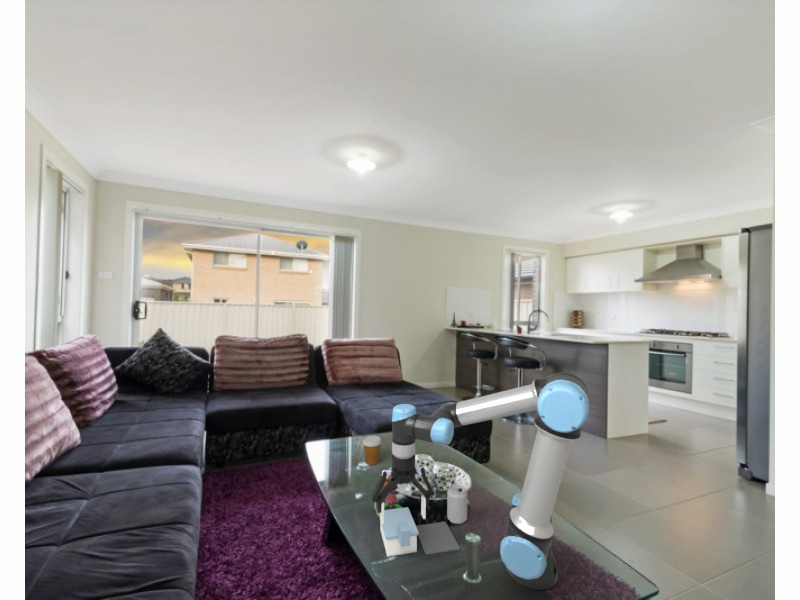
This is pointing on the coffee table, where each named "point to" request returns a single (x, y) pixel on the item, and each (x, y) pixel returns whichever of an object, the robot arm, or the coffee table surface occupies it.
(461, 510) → the can
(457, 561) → the coffee table surface
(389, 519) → the lid
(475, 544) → the coffee table surface
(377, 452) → the disposable coffee cup
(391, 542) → the tub
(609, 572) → the coffee table surface
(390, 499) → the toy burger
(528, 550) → the robot arm
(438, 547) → the mat
